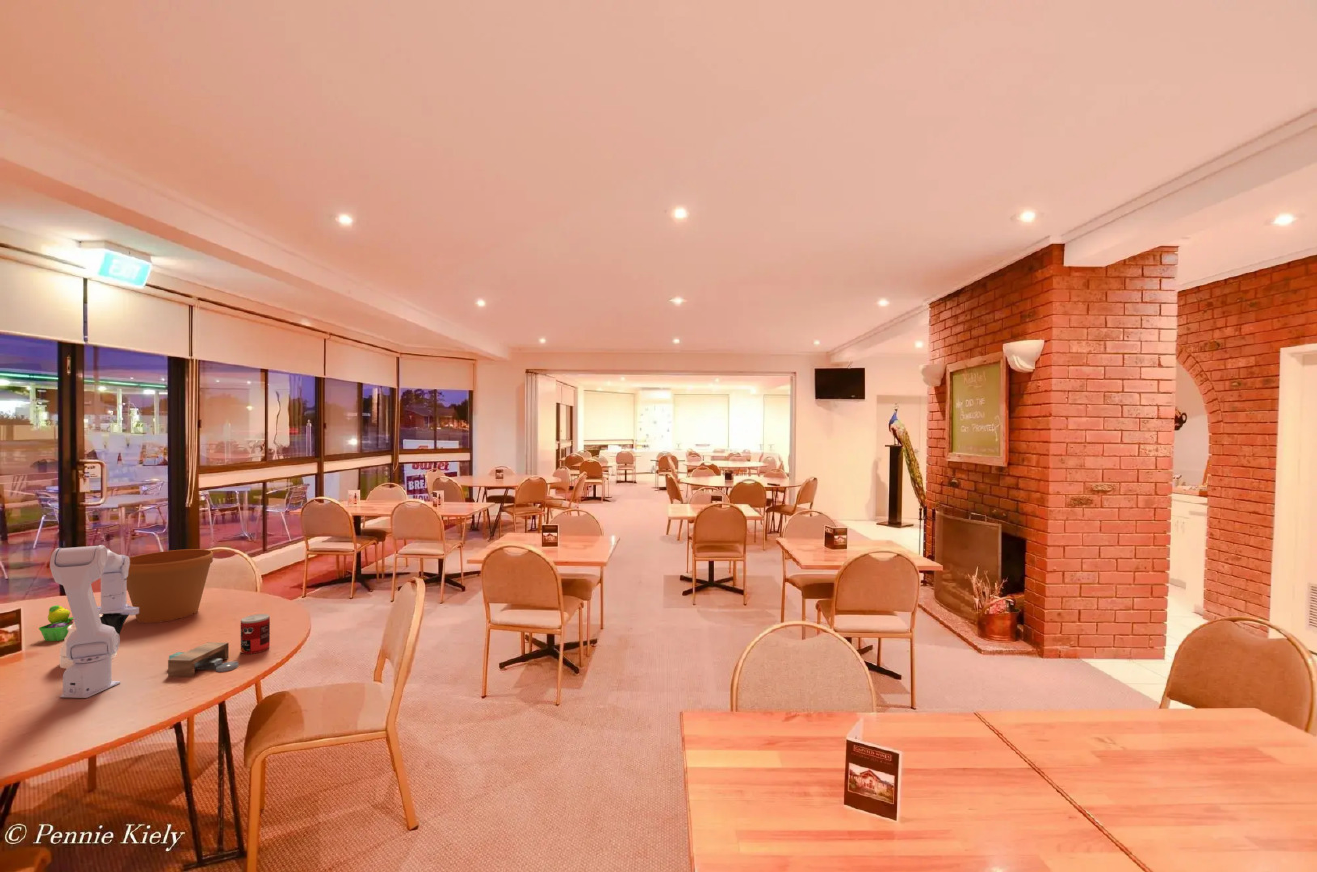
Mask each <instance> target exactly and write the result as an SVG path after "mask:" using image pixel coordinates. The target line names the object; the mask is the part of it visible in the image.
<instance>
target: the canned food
mask: <svg viewBox="0 0 1317 872" xmlns="http://www.w3.org/2000/svg"><path fill="white" fill-rule="evenodd" d="M270 621H271V618H270V614H267V613H259V614H258V613H257V614H253V615H252V614H251V615H247V616H245V617H242V618H241V619H240V651H241V653H242V654H244V655H250V654H251V655H252V654H258V653H262V652H264V651H266V650H268V649H269V648H270V646H271V645H270V643H271V641H270V638H271V636H270V635H271V633H270V632H271V631H270V625H271V624H270V623H271V622H270Z"/></svg>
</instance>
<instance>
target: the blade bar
mask: <svg viewBox="0 0 1317 872" xmlns="http://www.w3.org/2000/svg"><path fill="white" fill-rule="evenodd" d="M185 652H186V651H183V652H181V651H177V652H175V653H172V654H171V655H170V654H169V655H168V660H169V659H171V658H174V657H176V656H178V655H180V654H183V653H185ZM222 663H224V662H223V659H221V658H204V659H202V660H200V661H198V662H196V663H194V670H207V671H208V670H210V671H216V666H218V665H220V664H222Z"/></svg>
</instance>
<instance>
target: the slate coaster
mask: <svg viewBox="0 0 1317 872" xmlns="http://www.w3.org/2000/svg"><path fill="white" fill-rule="evenodd" d="M238 668H239V662H238V661H235V660H233V661H226V662H223V663H222V664H220V665H218V666H216V669H215V672H217V673H221V672H222V673H223V672H225V673H226V672H228V671H229V672H230V671H232V670H235V669H238Z"/></svg>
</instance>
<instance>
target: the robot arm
mask: <svg viewBox="0 0 1317 872" xmlns="http://www.w3.org/2000/svg"><path fill="white" fill-rule="evenodd" d="M129 558H130V556H129V555H125V554H118V553H116V552H115V551H111V549H110V548H107V547H106V545H104V544H99V545H91V546H89V545H88V546H76V547H57V548H55V550H53V551H52V553H51V555H50V561H49V568H50V571H51V575H52V578H53V580H54V582H55V583H57V584H59V585H61V586H63V589H64V592H65V595H66V599H67V602H68V606H69V609H70V613H71V615H72V616H71V617H73V619H74V622H75V625H76V629H77V630H75V631H74V632H72V633H71V634H70V636H69V637H68V639H67V642H66V648H67V649H66V655H67V658H68V659H69V660H73V663H75V664H74V665H73V666H71V667H69V668H68V669H66V668H65V670H64V672H63V675H62V694H61V695H60V698H74V699H80V698H81V699H86V698H90V697H92V696H94V695H96V694H99V693H101V692H103V691H106V690H108V689H110V688H112V687H115V686H116V685H118V684H121V681H119V680H112V677H113V676H112V674H113V673H112V672H113V671H112V659H111V655H113V654H115V652H117V653H118V650H119V647H120V644H121V643H120V642H121V637H120V634H121V631H122V629H123V626H124V623H125V622H126V620H127V619H128V617H129V616H135V615H136V614H139V607H133V606H132V605H130V604H129V603H127V600H128V599H127V598H128V597H127V587H126V578H127V577H128V570H129V565H130V559H129ZM97 580H100V606H98V605H97V601H96V598H95V594H94V591H93V588H92V584H93V583H94V582H96V581H97ZM99 614H101V615H102V617H100V616H99Z"/></svg>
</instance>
